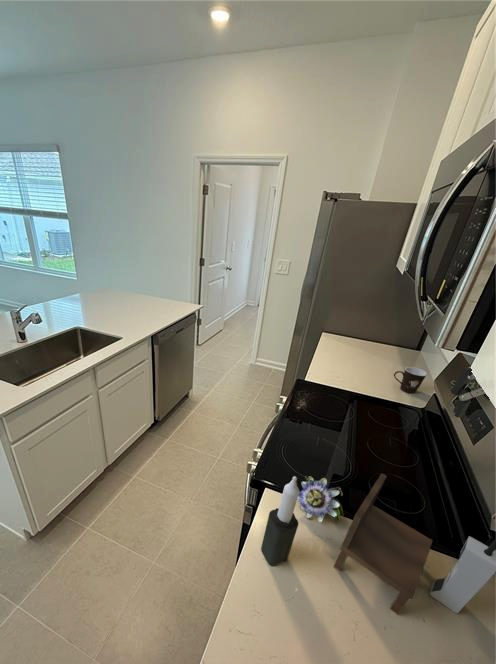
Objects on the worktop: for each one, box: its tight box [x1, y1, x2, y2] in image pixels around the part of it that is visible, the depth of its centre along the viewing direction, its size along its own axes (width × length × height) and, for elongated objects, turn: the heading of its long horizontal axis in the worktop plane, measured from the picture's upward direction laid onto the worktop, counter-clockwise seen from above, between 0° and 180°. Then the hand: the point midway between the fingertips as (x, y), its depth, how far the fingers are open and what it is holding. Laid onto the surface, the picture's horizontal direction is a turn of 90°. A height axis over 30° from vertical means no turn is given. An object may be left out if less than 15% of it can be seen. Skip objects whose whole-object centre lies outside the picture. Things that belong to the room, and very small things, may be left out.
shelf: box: [333, 473, 433, 615], centre depth 66 cm, size 16×14×18 cm
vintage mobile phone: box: [429, 535, 496, 614], centre depth 59 cm, size 4×5×25 cm
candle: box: [260, 475, 300, 567], centre depth 65 cm, size 5×5×25 cm
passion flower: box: [297, 475, 344, 523], centre depth 81 cm, size 11×11×12 cm
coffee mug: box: [393, 366, 428, 395], centre depth 142 cm, size 12×9×10 cm
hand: (481, 427), depth 60 cm, fingers open, 8 cm apart
